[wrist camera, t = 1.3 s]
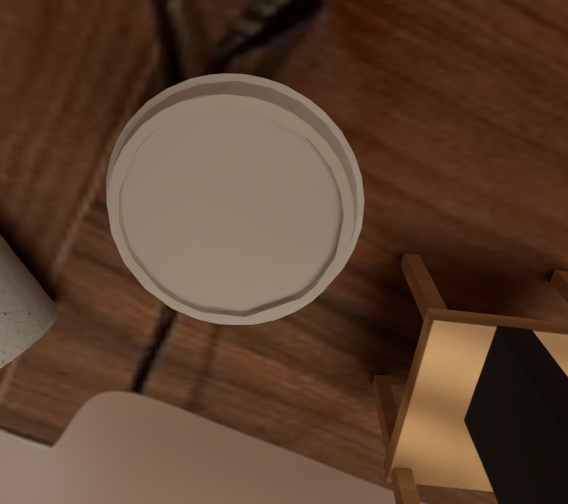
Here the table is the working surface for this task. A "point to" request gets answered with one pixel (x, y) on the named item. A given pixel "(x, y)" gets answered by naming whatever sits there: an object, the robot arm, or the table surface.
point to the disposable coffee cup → (234, 198)
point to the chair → (446, 389)
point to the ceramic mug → (21, 306)
